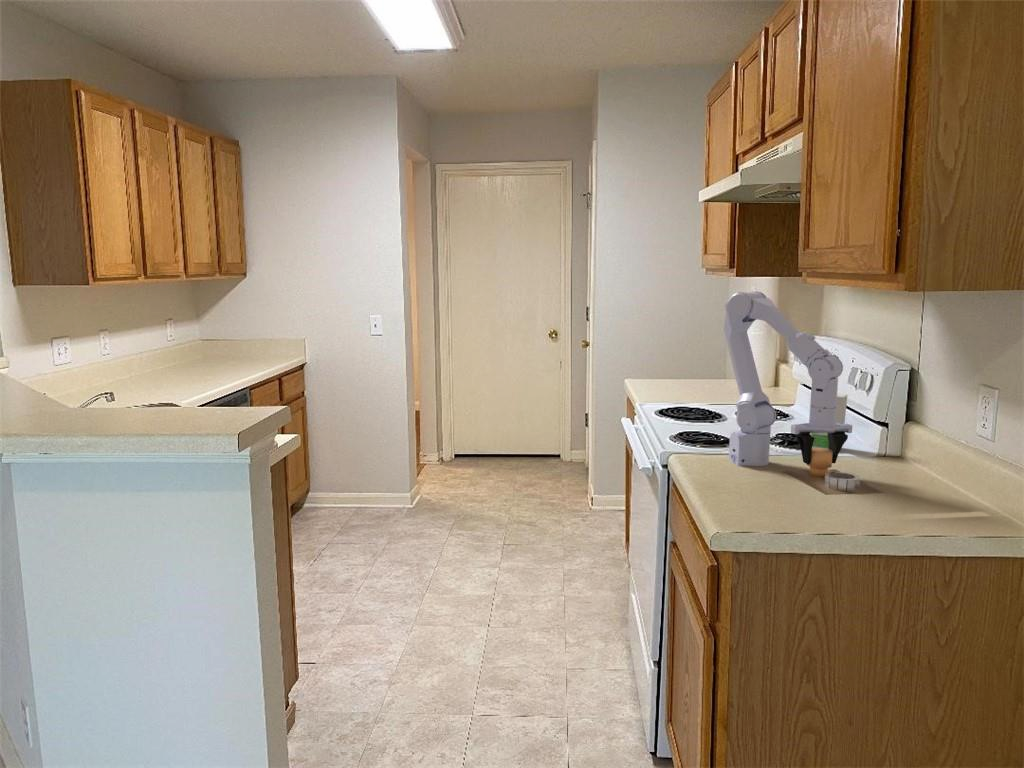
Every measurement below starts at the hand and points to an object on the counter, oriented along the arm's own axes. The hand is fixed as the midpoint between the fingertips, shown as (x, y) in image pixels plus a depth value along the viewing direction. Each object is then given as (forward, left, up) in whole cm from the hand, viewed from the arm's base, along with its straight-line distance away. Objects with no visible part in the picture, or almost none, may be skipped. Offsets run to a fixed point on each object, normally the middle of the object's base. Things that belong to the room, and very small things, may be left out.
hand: (819, 462), depth 184 cm
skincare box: (+19, +30, -4) cm, 35 cm away
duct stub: (0, -10, -3) cm, 10 cm away
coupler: (0, 0, -3) cm, 3 cm away
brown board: (0, -6, -4) cm, 7 cm away
